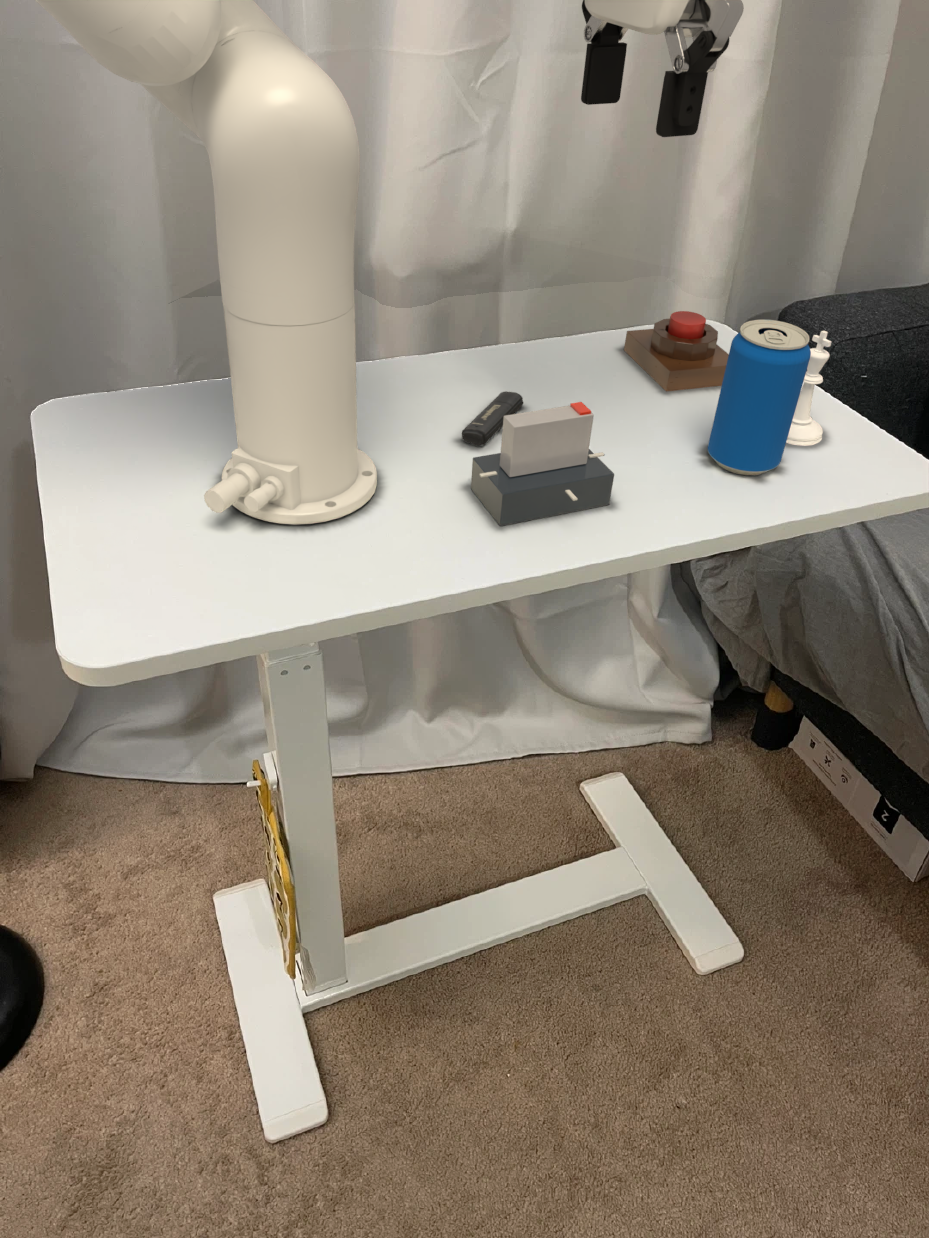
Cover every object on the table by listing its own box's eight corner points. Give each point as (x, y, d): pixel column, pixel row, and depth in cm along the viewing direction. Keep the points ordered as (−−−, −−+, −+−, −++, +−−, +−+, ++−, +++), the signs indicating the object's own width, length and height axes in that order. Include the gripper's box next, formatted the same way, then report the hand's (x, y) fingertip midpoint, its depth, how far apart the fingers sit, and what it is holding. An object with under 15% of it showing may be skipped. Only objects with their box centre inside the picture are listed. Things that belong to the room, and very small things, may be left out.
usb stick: (500, 401, 96) (501, 386, 95) (525, 407, 96) (526, 393, 95) (457, 443, 90) (458, 427, 89) (484, 450, 89) (485, 435, 88)
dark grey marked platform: (506, 545, 77) (510, 511, 75) (451, 474, 85) (453, 441, 83) (631, 520, 81) (638, 486, 79) (568, 454, 89) (572, 422, 87)
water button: (709, 340, 101) (712, 323, 100) (677, 343, 100) (680, 326, 99) (692, 326, 104) (695, 309, 103) (661, 328, 103) (664, 312, 102)
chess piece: (791, 416, 97) (819, 316, 91) (832, 437, 94) (864, 336, 88) (757, 428, 95) (784, 327, 88) (798, 451, 92) (829, 347, 85)
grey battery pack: (509, 478, 79) (514, 424, 76) (499, 465, 81) (503, 412, 78) (586, 464, 82) (594, 411, 79) (575, 452, 83) (582, 400, 80)
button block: (736, 384, 102) (745, 347, 99) (666, 392, 100) (673, 354, 97) (689, 344, 109) (697, 309, 107) (623, 350, 107) (629, 314, 105)
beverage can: (773, 446, 92) (807, 321, 84) (783, 483, 87) (821, 353, 79) (702, 440, 92) (730, 314, 85) (709, 476, 87) (739, 345, 80)
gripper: (557, -189, 67) (532, 94, 77) (719, -180, 55) (663, 153, 66) (649, -183, 70) (613, 90, 80) (822, -173, 58) (752, 145, 69)
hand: (636, 118), depth 73 cm, fingers open, 9 cm apart
